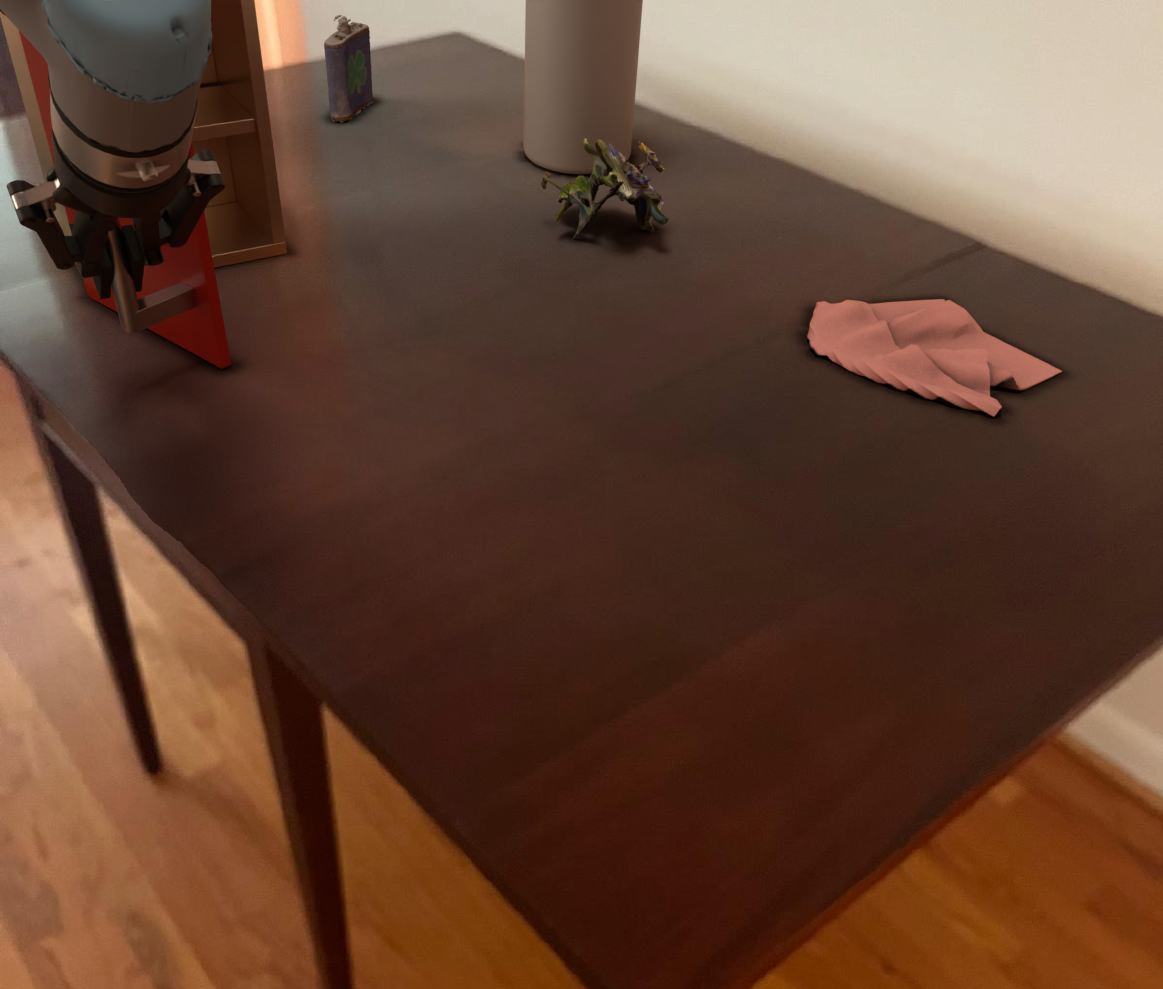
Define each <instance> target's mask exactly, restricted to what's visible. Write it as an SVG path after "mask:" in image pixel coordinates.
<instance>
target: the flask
mask: <svg viewBox="0 0 1163 989" xmlns="http://www.w3.org/2000/svg"><path fill="white" fill-rule="evenodd" d="M336 20H337V22H338V24H337V26H336V31H335V32H333V33H332V34H331V35H329V37H327V38H326V39H325V41H324V43H323V48H324V58H325V69H326V81H327V90H328V104H329V117H330V120H331V121H332V122H334V123H336V122H340V123H342V124H343V123H344V122H346V121H351V120H353V117H354V116H357V115H359V114H360V113H361V112H362V109H363V110H365V109H366V107H369V106H370V105H372V104H374V96H373V94H374V93H373V80H372V79H373V78H372V76H373V74H372V57H371V55H372V54H371V40H370V39H371V35H370V33H371V32H370V31H371V30H370V27H369V25H368V24H365V23H362V22H355V21H352V22H351V18H347V16H345V15H342V14H338V15H336V16H334V18H333V21H334V22H336Z"/></svg>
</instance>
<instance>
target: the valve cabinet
mask: <svg viewBox="0 0 1163 989" xmlns="http://www.w3.org/2000/svg"><path fill="white" fill-rule="evenodd" d="M0 21H1V24H2V28H3V32H4V35H5V39H6V43H7V47H8V50H9V54H10V57H11V62H12V65H13V69H14V73H15V76H16V80H17V81H16V82H17V84H18V88H19V91H20V95H21V99H22V102H23V107H24V111H25V113H26V118H27V122H28V125H29V129H30V132H31V136H32V141H33V143H34V147H35V151H36V155H37V158H38V162H39V167H40V169H41V174H42V177H43V181H44V183H46V182H47V179H46V176H47V172H48V170H49V169H50V168H51V167H52V166H53V161H52V157H51V153H50V149H49V145H48V141H47V138H46V134H45V130H44V126H43V122H42V118H41V115H40V111H39V107H38V103H37V99H36V95H35V91H34V88H33V84H32V80H31V76H30V72H29V68H28V65H27V61H26V57H25V53H24V49H23V45H22V42H21V38H20V34H19V30H18V29H17V27H16V26H15V25H14V24H13V23H12V22H11V21H10V20H9V19H8V18H7V16H5V15H3V14H2V13H1V12H0ZM211 24H212V25H211V32H212V45H211V50H210V55H209V57H208V60H207V65H206V67H205V68H204V71H203V75H202V79H201V83H200V87H199V91H198V95H197V100H198V101H197V110H196V117H195V123H194V129H193V135H192V144H193V150H194V155H195V154H196V153H198V152H200V151H202V150H212V151H213V153H214V156H215V159H216V162H217V165H218V168H219V170H220V173H221V176H222V178H223V181H224V184H225V188H224V189H223V190H222V191H221V192H220V193H219V194H217V195H216V196H215V197H214V198H212V199H211V200H210V201H209V203H208V205H207V206H206V208H205V210H204V212H205V218H206V224H207V229H208V235H209V241H210V246H211V252H212V258H213V263H214V269H215V268H220V267H225V266H226V267H227V266H231V265H235V264H240V263H241V264H242V263H247V262H250V261H251V262H252V261H256V260H262V259H266V258H267V259H268V258H271V257H276V256H281V255H286V254H288V249H287V242H286V235H285V227H284V225H285V224H284V218H283V211H282V210H283V209H282V202H281V196H280V187H279V179H278V172H277V164H276V156H275V148H274V141H273V133H272V126H271V116H270V111H269V110H270V109H269V102H268V94H267V87H266V79H265V70H264V63H263V57H262V56H263V55H262V47H261V40H260V35H259V34H260V33H259V23H258V17H257V9H256V1H255V0H211ZM55 205H56V210H55V211H54V212H53V213H54V215H55V216H56V218H57V220H58V222H59V224H60V226H61V228H62V230H63V233H64V235H65V236H72V234H71V230H70V226H69V224H68V223H69V222H68V218H67V214H66V211H65V207H64V206H63V205H61V204H59V203H56V204H55ZM74 263H75V265H74V267H76V269H77V272H78V273H79V275H81V273H80V270H79V268H78V265H77V262H74ZM81 278H82V279H83V277H82V276H81Z"/></svg>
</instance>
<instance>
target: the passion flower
mask: <svg viewBox="0 0 1163 989" xmlns="http://www.w3.org/2000/svg"><path fill="white" fill-rule="evenodd" d="M583 143H584V149H585V151H586V152H587V153H588V154H589V155H590V156H591V157H592V159H593V162H594V166H593V173H592V174H589V178H588V176H586V175H578V176H577V177H576V178H575V179H574V180H573V181H567V182H565V184H563V185H562V186H560V185H558V184H557V183H556V182H555V181H554V180H551V179H550V178H551V177H552V174H551V173H550V172H548V171H545V172H543V176H542V181H541V182H540V185H541V188H542V190H546V189H547V184H548V183H550V184H551V185H553V186H554V187H555V188H556V189H558V190H560V192H559V196H558V199H557V202H558V203H559V204H562V203H563V201H565V202H564V204H563V206H562V208H560V209H559V211H558V212H557V214H556V219H555V222H557V223H558V222H559V220H561V218H562V217H563V215H564V214H565V213H566V212H567V211H568V209H570V208H571V207H573V205H574V204H577V205H578V206H579V216H578V224H577V225H578V226H577V229H576V231H575V234H574V235H573V237H572V239H573V240H575V239H576V238H577V237H578V236H579V235H580V233H581V231H582V230H583V229H584V228H585V226H586V227H587V226H588V225H589V224H590V223H591V222H593V221H594V220H595V218H596V217H597V216H598V215H597V213H598V211H599V210H600V209H601V208H602V207H603V205H604V204H605V203H606V201H607V200H609V199H610V198H612V197H614V196H618V199H619V201H621V202H624V201H626V202H627V203H628V205H631V206H633V207H634V211H635V218H636V219H635V220H636V223H637V225H638V226H639V229H640V230H643V231H647V232H650V233H651V234H653V233H654V232H655V229H654V227H653V224H652V219H653V220H654V221H655V222H656V223H657V224H658V225H661V226H664V225H666V224H668V221H669V220H670V218H669V217H668V216H667V215H665V213H663V212H662V211H661V210H662V208H663V207H664V205H665V202H664V199H663V198H662V194H660V193H659V191H658V190H655V189H654V187H653V186H651V185H650V183H649V182H652V178H650V177H647V175H644V172H643V170H644V169H645V168H646V167H648V166H652V167H654V169H655V170H656V171H657V172H659V173H663V171H664V172H665V171H666V169H665V168H664V167H663V165H662V163H661V161H660V159H659V158H658V157H657V154H656V152H655V151H654V150H652V149H651V147H649V146H648V145H647V144H646V143H644V142H642V141H641V140H638V141H637V147H638V148H639V150H640V151H641V153H642V155H643V156H644V158H645V159H644V160H643V161H642V163H640V164H632V163H631V162H630V161H629V159H628V160H627V159H626V158H625V157H624V156H623V155H622V154H621V153H620V152H618V151H617V149H616V148H615V146H612V145H611V143H610V142H608V143H609V148H608V147H607V146H606V145H605V143H604V142H603V141H602V140H598V139H597V141H596V142H595V147H596V149H595V148H593V147H592V146H591V145H589V144H588V142H587V138H586V139H584V141H583ZM603 185H604V186H605V187H608V188H610V189H609V192H608V193H607V194H606V195H605V196H604V197H603V198H601V199H600V200H599V201H598V202H595V199H596V197H597V194H598V191H599V189H600V188H599V187H600V186H603Z"/></svg>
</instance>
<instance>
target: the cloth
mask: <svg viewBox="0 0 1163 989" xmlns="http://www.w3.org/2000/svg"><path fill="white" fill-rule="evenodd" d="M806 339H807V340H809V347H810V348H811V350H812V351H813V352H814V353H815V354H816V356H823V357H825V356H826V357H827V358H828V359H829V360H830V361H832V362H833V363H835V364H837V365H838V366H841V367H842V368H844V369H846V370H847V371H849V372H851V373H853V374H855V375H858V376H862V377H864V378H865V377H866V378H868V379H869V380H871V381H873V382H874V383H877V384H882V385H887V386H892V388H894V389H896V390H899V391H902V392H904V393H905V392H906V393H911V394H917V395H919V396H921V397H923V398H924V399H927V400H930V401H934V402H943V403H947V404H951V405H954V406H957V407H959V408H961V409H963V410H969V411H979V412H984V413H986V414H988V415H990V416H992V417H993V418H994V417H995V416H996V415H997V414H998V413H999V411H1000V410H1001V409H1002V407H1003V406H1002V405H1001V403H1000V402H999V400H998V399H996V398H995V397H992V396H991V387H998V388H1005V389H1011V390H1017V391H1025V390H1027V389H1030V388H1032V387H1034V386H1036V385H1039V384H1041V383H1043V382H1045V381H1047V380H1049V379H1052V378H1054V377H1055V376H1057V375H1060V374H1061V373H1062V372H1063V370H1061V369H1059V368H1057V367H1055V366H1054V365H1051V364H1049V363H1047V362H1045V361H1043V360H1041V359H1040V358H1037V357H1036V356H1033V355H1031V354H1029V353H1027V352H1025V351H1023V350H1021V349H1019V348H1017V347H1015V346H1013V345H1011V344H1009V343H1006V342H1004V341H1002V340H1001V339H999V338H997V337H995V336H993V335H991V334H989V333H987V332H984V331H983V329H982V328H981V327H980V325H979V323H978V322H977V321H976V320H975V318H974V317H973V316H972V315H971V314H970V313H969V312H968V310H966V309H965V308H964V307H962V306H961V305H959V304H957V303H955V302H954V301H952V300H951V299H947V300H945V299H944V298H936V299H935V298H934V299H918V300H903V301H901V300H900V301H886V302H878V303H877V302H876V303H868V302H867V301H861V300H854V299H853V300H852V299H845V300H843V301H841V302H836V303H830V302H828V301H826V300H822V301H816V302H815V307H814V309H813V311H812V317H811V319H810V322H809V328H808V333H807V334H806Z"/></svg>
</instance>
